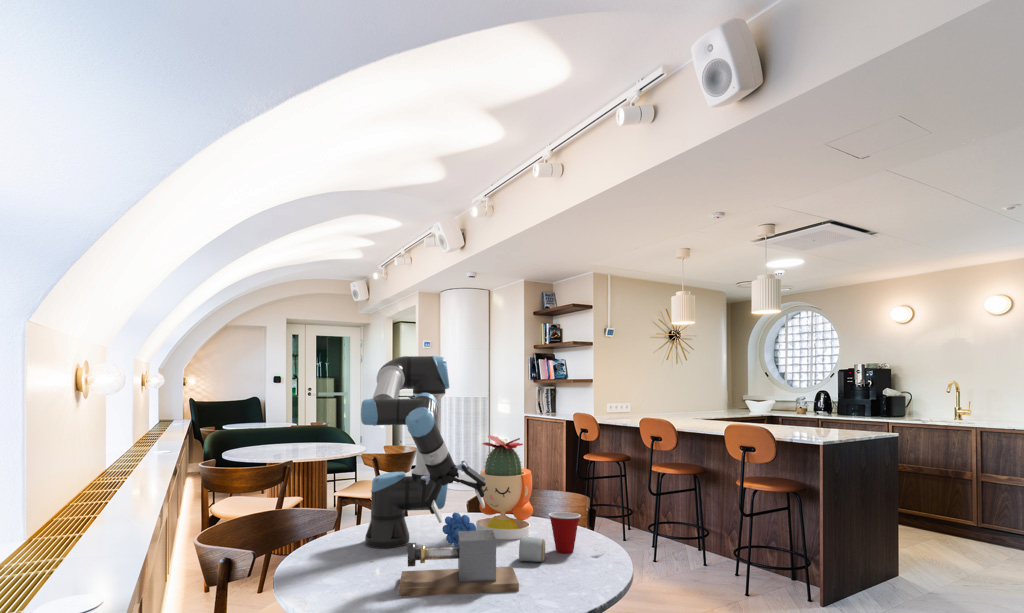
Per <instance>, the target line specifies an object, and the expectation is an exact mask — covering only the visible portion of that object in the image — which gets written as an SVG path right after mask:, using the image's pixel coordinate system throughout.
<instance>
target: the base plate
mask: <svg viewBox="0 0 1024 613" xmlns="http://www.w3.org/2000/svg"><path fill="white" fill-rule="evenodd" d="M399 581H400V582H399V586H398V597H399V598H400V597H419V596H420V597H421V596H422V597H423V596H438V595H439V596H440V595H442V596H444V595H445V596H446V595H460V594H461V595H462V594H482V593H483V594H484V593H502V592H503V593H504V592H519V591H520V583H519V580H518V577H517V574H516V572H515V569H514V568H513V566H496V582H477V583H459V576H458V568H448V569H446V568H445V569H442V568H441V569H425V570H424V569H423V570H418V569H417V570H402V571H401V574H400V580H399Z"/></svg>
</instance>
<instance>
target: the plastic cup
mask: <svg viewBox="0 0 1024 613" xmlns="http://www.w3.org/2000/svg"><path fill="white" fill-rule="evenodd" d="M581 516H582V515H581V514H579V513H576V512H575V513H574V512H567V511H566V512H564V511H561V512H560V511H557V512H555V511H553V512H549V513H548V517H549V519H550V524H551V529H552V536H553V541H554V546H555V551H556V552H557V553H560V554H572V553H574V549H575V544H576V538H577V531H578V525H579V521H580V518H581Z"/></svg>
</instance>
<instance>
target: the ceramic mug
mask: <svg viewBox="0 0 1024 613" xmlns="http://www.w3.org/2000/svg"><path fill="white" fill-rule="evenodd" d="M545 555H546V540H545V539H544V538H541V537H534V536H521V538H520V539H519V546H518V558H519V559H518V560H519V561H520V562H533V563H542V562H544V561H545Z"/></svg>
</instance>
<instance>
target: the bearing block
mask: <svg viewBox="0 0 1024 613" xmlns="http://www.w3.org/2000/svg"><path fill="white" fill-rule="evenodd" d="M458 547H459V559H457V569H458V576H459V583H477V582H496V567H497V539H496V538H495V535H494V532H493V530H483V531H458Z"/></svg>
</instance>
